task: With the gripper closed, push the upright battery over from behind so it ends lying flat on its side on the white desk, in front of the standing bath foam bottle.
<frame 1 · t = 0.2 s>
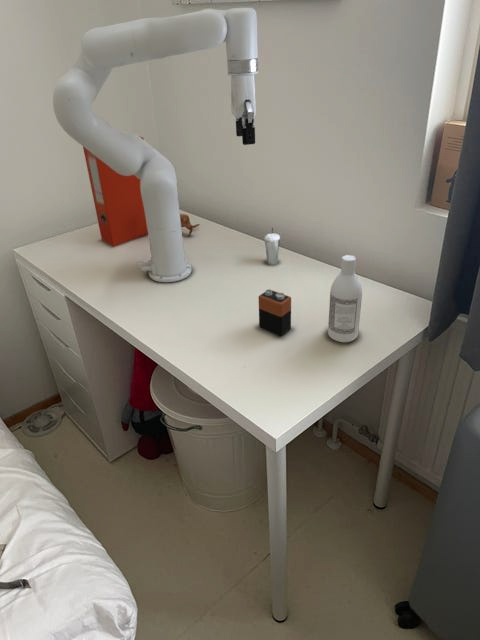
hand: (245, 139, 131), 37 cm above the table, tool pointing down, fingers open, 9 cm apart
file binder: (129, 236, 174), on the table
bath foam: (342, 335, 118), on the table
cat figurine: (182, 236, 172), on the table
battery: (275, 329, 121), on the table
milkshake: (272, 262, 152), on the table
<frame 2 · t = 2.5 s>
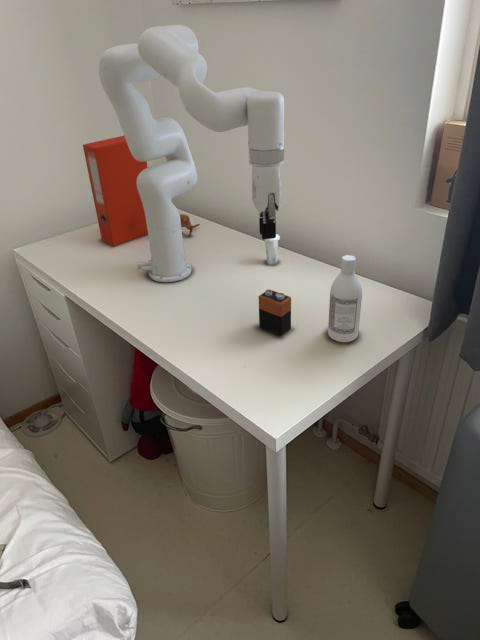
hand: (267, 235, 116), 21 cm above the table, tool pointing down, fingers closed
nothing on the table moved.
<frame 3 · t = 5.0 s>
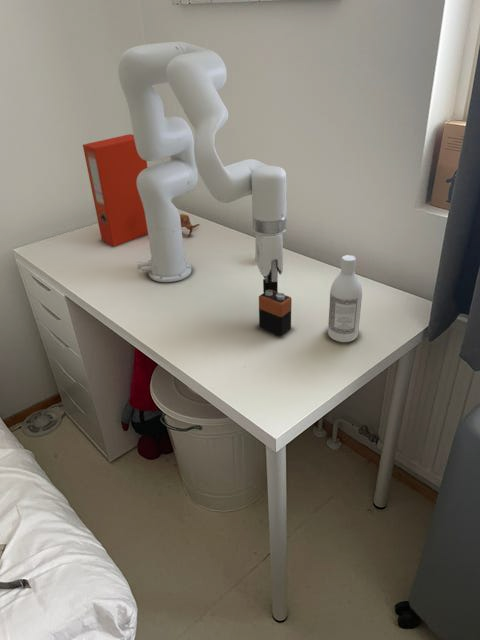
hand: (270, 294, 123), 6 cm above the table, tool pointing down, fingers closed
battery: (275, 329, 121), on the table, touching gripper
everything else where it was.
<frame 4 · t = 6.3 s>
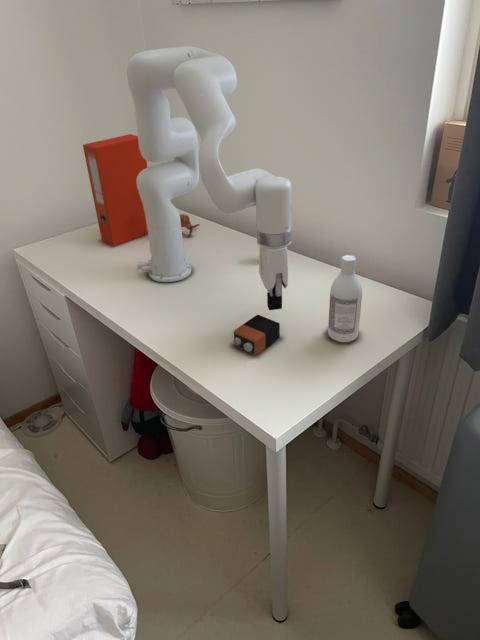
hand: (274, 307, 119), 6 cm above the table, tool pointing down, fingers closed
battery: (269, 325, 119), point 2 cm above the table
everything else where it was.
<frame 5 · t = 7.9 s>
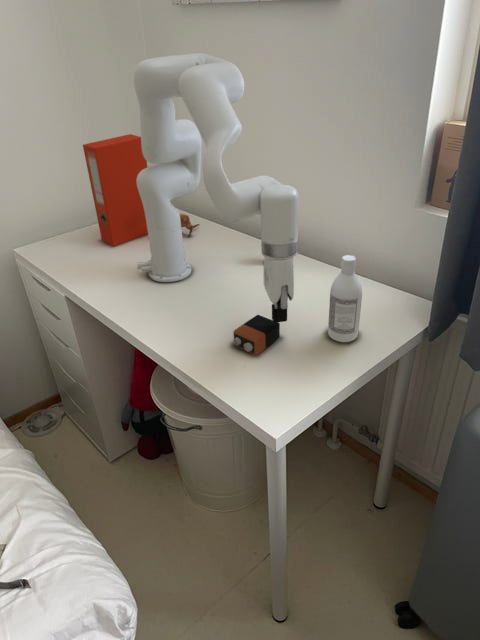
hand: (279, 320, 114), 6 cm above the table, tool pointing down, fingers closed
nothing on the table moved.
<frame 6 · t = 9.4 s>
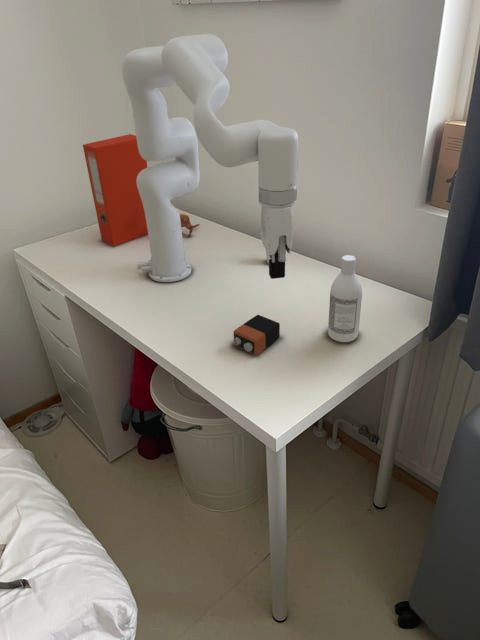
hand: (276, 276, 109), 16 cm above the table, tool pointing down, fingers closed
nothing on the table moved.
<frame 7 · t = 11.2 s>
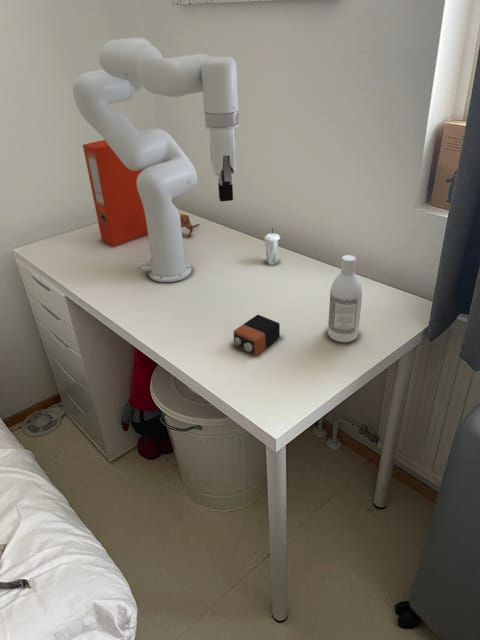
hand: (226, 199, 121), 27 cm above the table, tool pointing down, fingers closed
nothing on the table moved.
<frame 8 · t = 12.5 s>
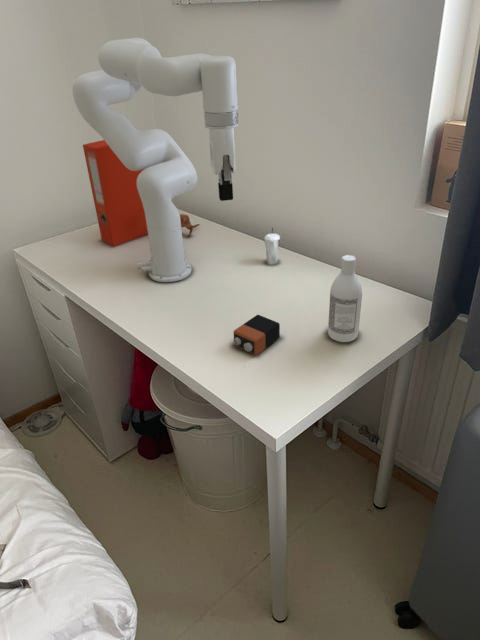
hand: (226, 199, 121), 27 cm above the table, tool pointing down, fingers closed
nothing on the table moved.
at the end: battery tilted 90°; battery inside the target area (2.2 cm from its centre), point 2.2 cm above the table; bath foam tilted 0° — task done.
